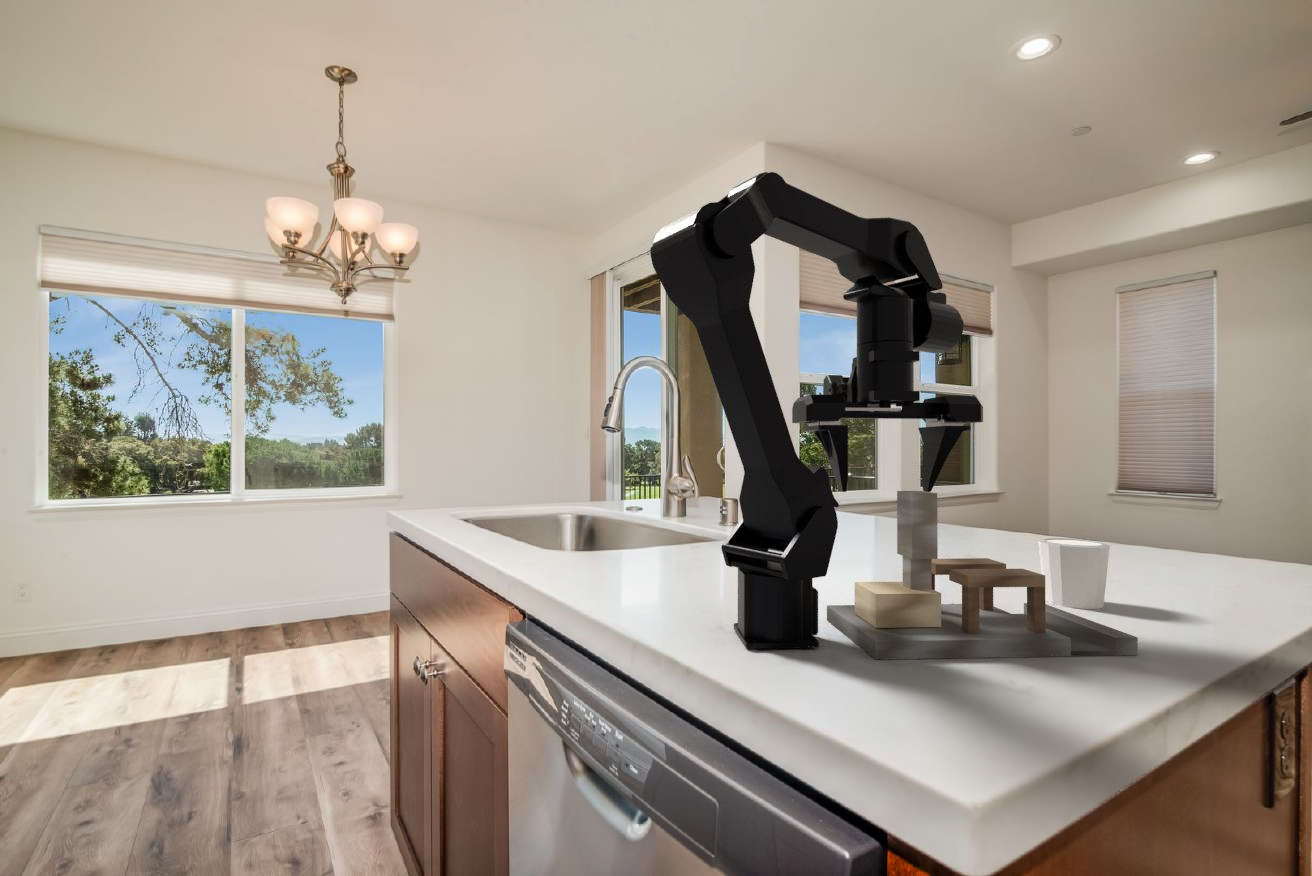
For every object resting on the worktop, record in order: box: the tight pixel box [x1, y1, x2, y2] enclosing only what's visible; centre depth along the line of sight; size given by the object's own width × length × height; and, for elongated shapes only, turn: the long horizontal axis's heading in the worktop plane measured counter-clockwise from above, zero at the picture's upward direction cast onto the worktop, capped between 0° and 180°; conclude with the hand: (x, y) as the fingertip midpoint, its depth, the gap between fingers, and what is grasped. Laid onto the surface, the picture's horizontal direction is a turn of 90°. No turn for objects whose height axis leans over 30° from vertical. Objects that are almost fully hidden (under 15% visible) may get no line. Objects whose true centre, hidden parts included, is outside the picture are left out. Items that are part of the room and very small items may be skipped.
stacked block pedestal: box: [854, 490, 942, 628], centre depth 58 cm, size 6×5×12 cm
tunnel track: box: [826, 557, 1139, 660], centre depth 59 cm, size 23×12×6 cm, turn 94°
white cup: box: [1037, 537, 1111, 610], centre depth 72 cm, size 7×7×7 cm
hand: (885, 491), depth 67 cm, fingers open, 9 cm apart
